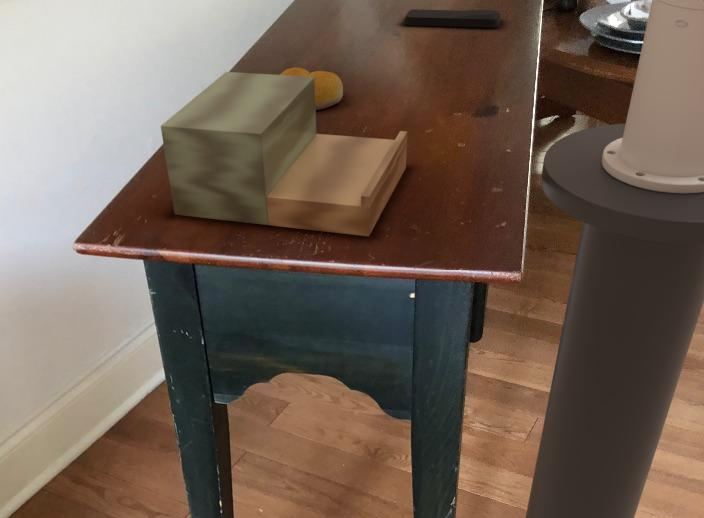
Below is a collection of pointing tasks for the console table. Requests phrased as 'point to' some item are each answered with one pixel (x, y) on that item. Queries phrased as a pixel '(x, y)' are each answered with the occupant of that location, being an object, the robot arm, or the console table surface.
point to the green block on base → (275, 159)
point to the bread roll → (321, 86)
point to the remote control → (453, 18)
